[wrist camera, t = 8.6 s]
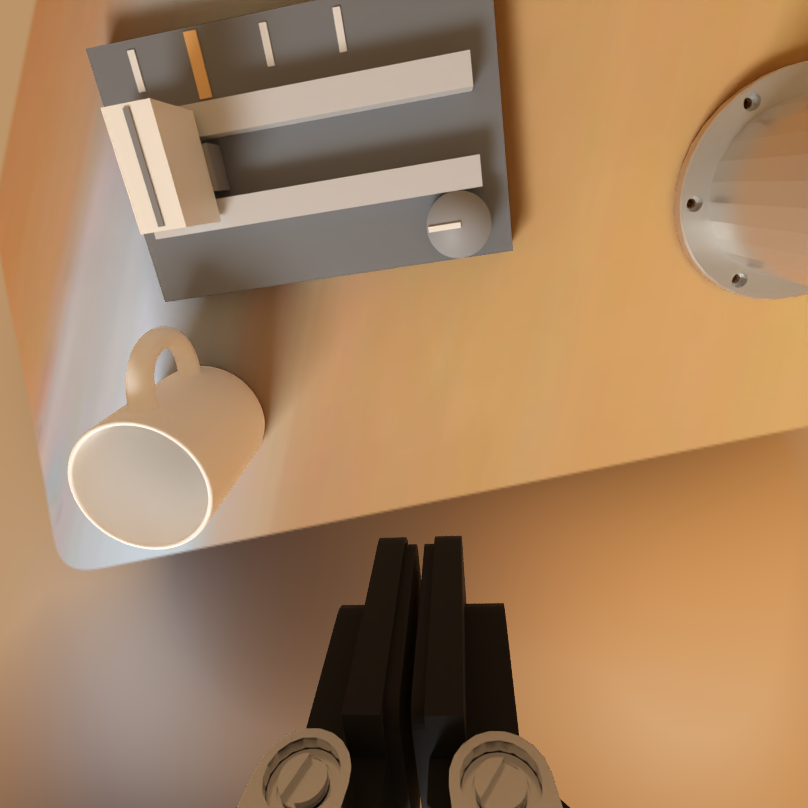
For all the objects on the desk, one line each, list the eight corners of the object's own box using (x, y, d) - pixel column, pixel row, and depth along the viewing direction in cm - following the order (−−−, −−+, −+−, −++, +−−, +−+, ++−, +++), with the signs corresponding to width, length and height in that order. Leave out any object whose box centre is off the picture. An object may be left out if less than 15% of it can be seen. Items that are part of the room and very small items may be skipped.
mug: (136, 309, 37) (30, 353, 28) (254, 309, 37) (188, 353, 27) (168, 465, 42) (86, 548, 32) (274, 467, 41) (222, 552, 32)
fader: (211, 113, 30) (154, 96, 24) (237, 218, 32) (191, 226, 26) (161, 123, 31) (93, 108, 25) (190, 226, 33) (133, 235, 27)
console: (487, -23, 29) (493, -52, 25) (509, 246, 34) (516, 253, 30) (106, 56, 32) (65, 41, 28) (179, 296, 37) (151, 307, 33)
